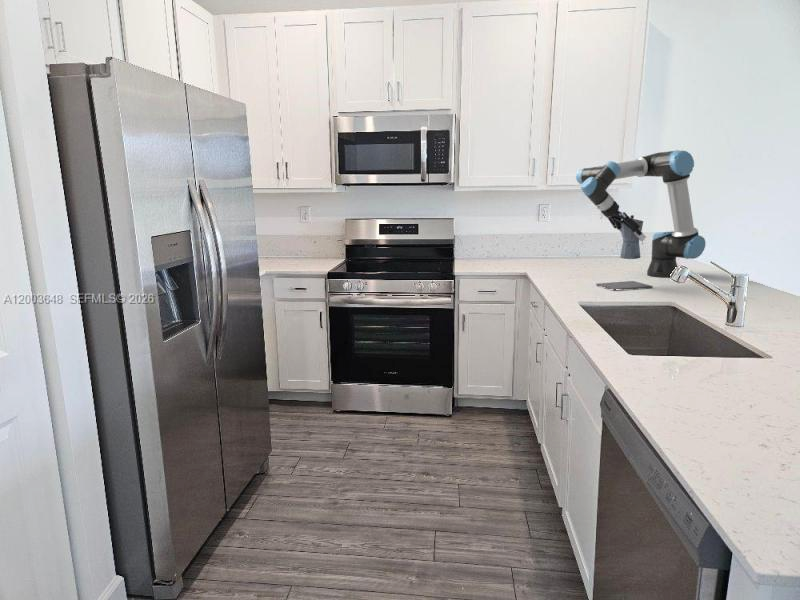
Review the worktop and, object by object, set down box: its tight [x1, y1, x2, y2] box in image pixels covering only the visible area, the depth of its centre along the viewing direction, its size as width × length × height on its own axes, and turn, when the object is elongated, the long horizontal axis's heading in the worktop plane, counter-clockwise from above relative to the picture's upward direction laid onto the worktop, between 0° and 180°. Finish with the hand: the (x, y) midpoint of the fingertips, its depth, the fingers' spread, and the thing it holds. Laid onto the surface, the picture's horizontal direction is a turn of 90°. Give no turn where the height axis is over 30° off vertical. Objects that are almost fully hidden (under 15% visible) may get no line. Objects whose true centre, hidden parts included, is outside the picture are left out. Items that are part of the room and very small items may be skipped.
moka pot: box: [619, 214, 644, 260], centre depth 245 cm, size 10×15×20 cm, turn 159°
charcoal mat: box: [595, 280, 653, 290], centre depth 252 cm, size 20×15×1 cm
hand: (636, 238), depth 246 cm, fingers closed on moka pot, 10 cm apart
